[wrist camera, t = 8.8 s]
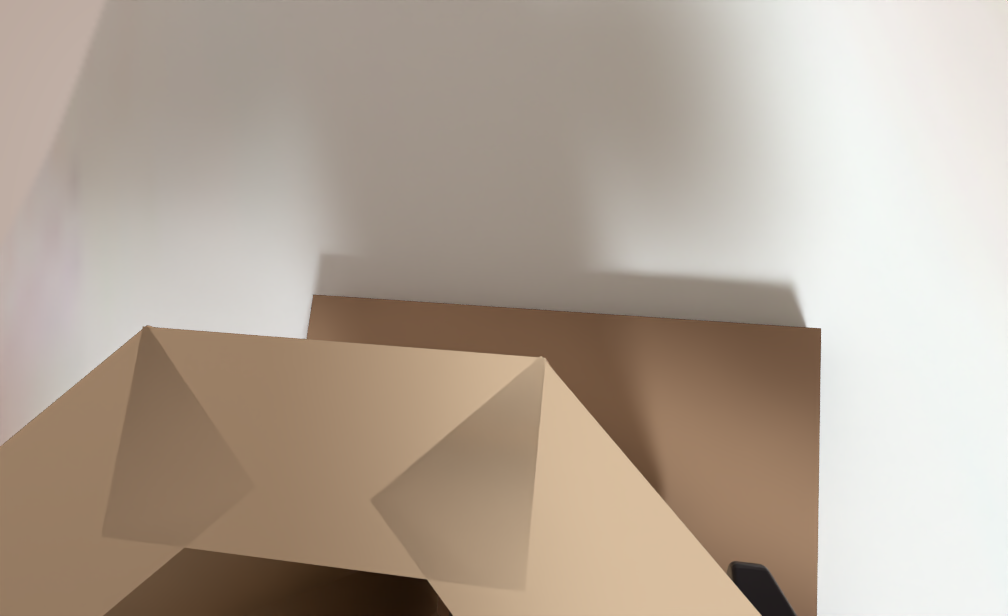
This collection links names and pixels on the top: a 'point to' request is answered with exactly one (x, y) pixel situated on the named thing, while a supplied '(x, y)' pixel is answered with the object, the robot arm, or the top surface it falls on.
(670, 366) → the roll stand
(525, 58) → the top surface
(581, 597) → the paper roll
